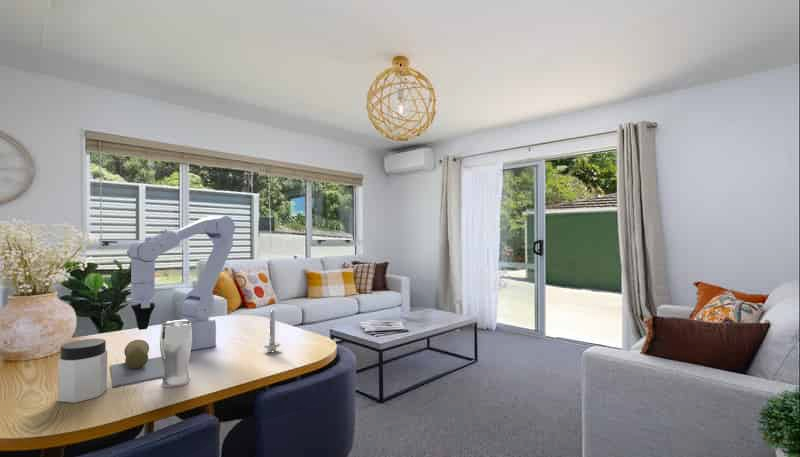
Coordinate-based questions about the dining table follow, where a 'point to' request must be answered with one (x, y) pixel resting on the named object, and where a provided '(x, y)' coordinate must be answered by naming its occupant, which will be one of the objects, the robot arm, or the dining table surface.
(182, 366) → the beer glass
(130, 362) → the cork
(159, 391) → the dining table surface
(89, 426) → the dining table surface
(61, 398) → the jar
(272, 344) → the screw
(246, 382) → the dining table surface
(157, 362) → the mat
